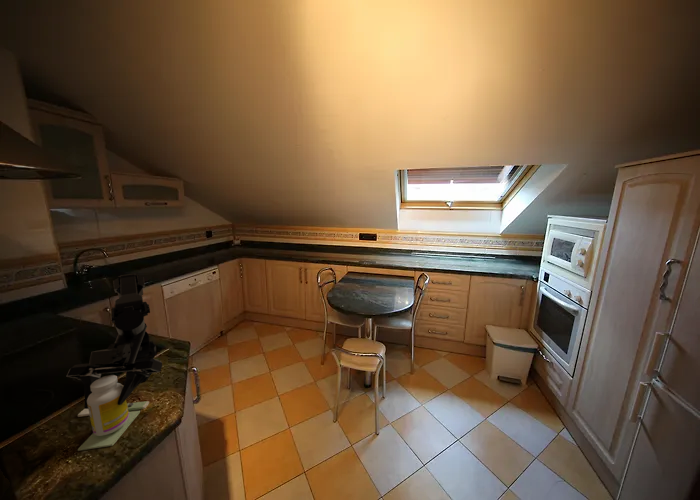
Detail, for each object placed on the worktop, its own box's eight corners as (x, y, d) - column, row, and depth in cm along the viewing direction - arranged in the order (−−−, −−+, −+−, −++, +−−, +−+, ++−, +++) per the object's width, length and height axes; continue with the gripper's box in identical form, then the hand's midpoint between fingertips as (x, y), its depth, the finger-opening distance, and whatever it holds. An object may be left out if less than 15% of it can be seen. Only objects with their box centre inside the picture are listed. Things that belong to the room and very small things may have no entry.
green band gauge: (84, 410, 67) (83, 407, 67) (149, 403, 70) (148, 399, 70) (33, 457, 54) (32, 452, 54) (115, 445, 57) (114, 441, 57)
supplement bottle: (136, 414, 65) (129, 372, 63) (113, 437, 58) (105, 390, 56) (110, 414, 65) (103, 372, 63) (84, 437, 58) (75, 391, 56)
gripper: (66, 336, 60) (25, 411, 51) (151, 330, 63) (127, 399, 54) (97, 347, 69) (67, 412, 60) (170, 341, 72) (152, 402, 63)
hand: (103, 406), depth 59 cm, fingers closed on supplement bottle, 6 cm apart
